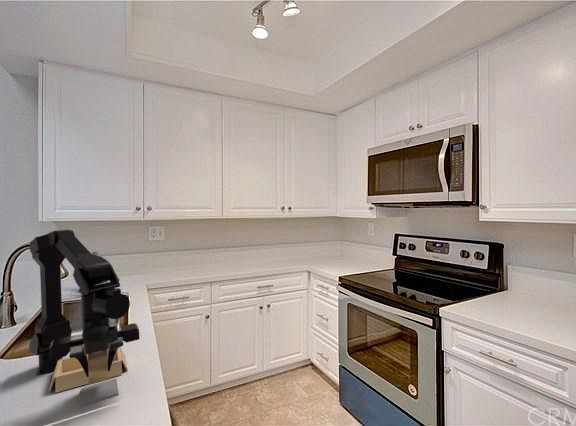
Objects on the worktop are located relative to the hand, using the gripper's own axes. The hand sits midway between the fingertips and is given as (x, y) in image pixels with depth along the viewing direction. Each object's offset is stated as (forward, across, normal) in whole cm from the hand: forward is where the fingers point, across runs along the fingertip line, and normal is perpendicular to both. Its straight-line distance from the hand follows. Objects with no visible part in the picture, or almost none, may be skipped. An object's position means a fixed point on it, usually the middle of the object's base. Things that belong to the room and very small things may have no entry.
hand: (98, 373), depth 78 cm
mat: (+6, 0, +1) cm, 6 cm away
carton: (+6, -2, +14) cm, 15 cm away
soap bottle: (+6, 0, +123) cm, 124 cm away
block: (+1, 0, +1) cm, 1 cm away
